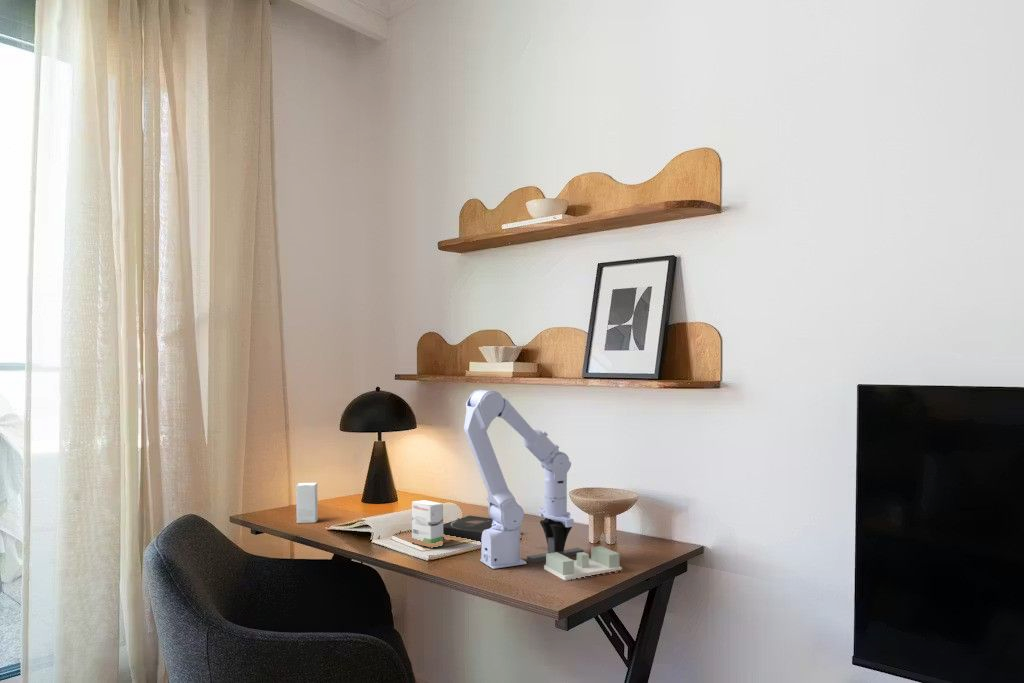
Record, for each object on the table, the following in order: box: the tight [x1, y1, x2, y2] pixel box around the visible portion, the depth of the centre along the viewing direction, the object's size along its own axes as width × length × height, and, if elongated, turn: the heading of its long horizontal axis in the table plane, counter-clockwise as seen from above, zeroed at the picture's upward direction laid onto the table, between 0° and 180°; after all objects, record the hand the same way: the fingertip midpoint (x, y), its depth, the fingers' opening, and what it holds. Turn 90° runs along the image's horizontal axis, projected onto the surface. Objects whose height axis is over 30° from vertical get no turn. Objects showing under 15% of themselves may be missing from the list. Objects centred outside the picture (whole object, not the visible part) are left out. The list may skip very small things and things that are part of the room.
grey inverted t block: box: [526, 537, 584, 563], centre depth 179 cm, size 16×3×5 cm, turn 121°
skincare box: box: [295, 482, 319, 524], centre depth 218 cm, size 6×4×12 cm
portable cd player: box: [443, 515, 493, 542], centre depth 200 cm, size 16×17×4 cm
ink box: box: [411, 499, 445, 543], centre depth 191 cm, size 9×5×12 cm, turn 47°
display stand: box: [543, 545, 623, 582], centre depth 167 cm, size 16×10×4 cm, turn 117°
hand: (555, 549), depth 179 cm, fingers closed on grey inverted t block, 3 cm apart
